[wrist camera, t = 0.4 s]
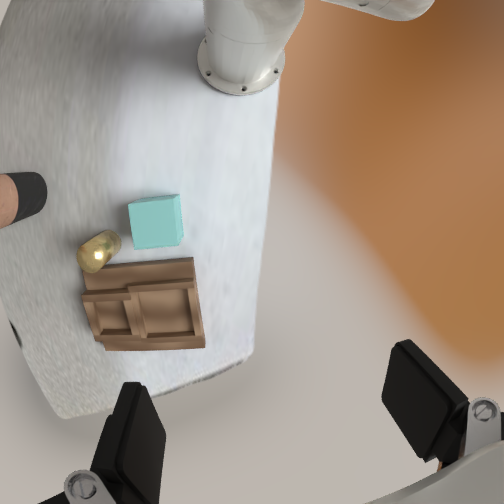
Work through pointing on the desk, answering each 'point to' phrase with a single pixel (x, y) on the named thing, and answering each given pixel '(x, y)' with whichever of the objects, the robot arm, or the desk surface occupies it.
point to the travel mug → (20, 196)
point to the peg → (98, 251)
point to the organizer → (145, 306)
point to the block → (156, 222)
